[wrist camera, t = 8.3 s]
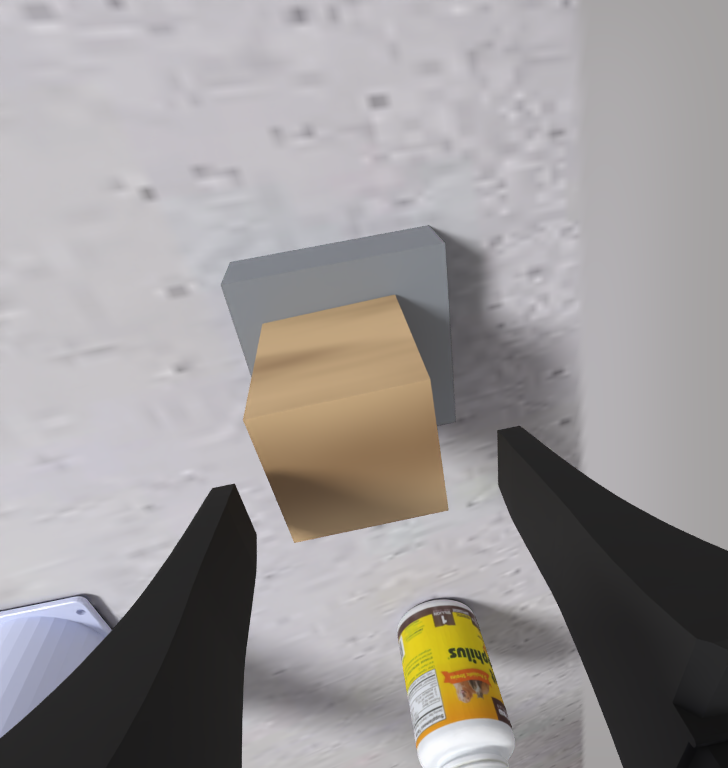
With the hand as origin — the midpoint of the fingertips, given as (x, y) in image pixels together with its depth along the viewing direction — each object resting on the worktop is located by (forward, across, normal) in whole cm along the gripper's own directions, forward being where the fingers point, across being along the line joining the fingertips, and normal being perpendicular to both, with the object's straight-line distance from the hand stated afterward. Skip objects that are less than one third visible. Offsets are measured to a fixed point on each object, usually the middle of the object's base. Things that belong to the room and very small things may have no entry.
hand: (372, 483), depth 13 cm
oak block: (+7, 0, 0) cm, 7 cm away
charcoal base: (+10, 0, 0) cm, 10 cm away
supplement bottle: (+10, -2, +23) cm, 25 cm away
